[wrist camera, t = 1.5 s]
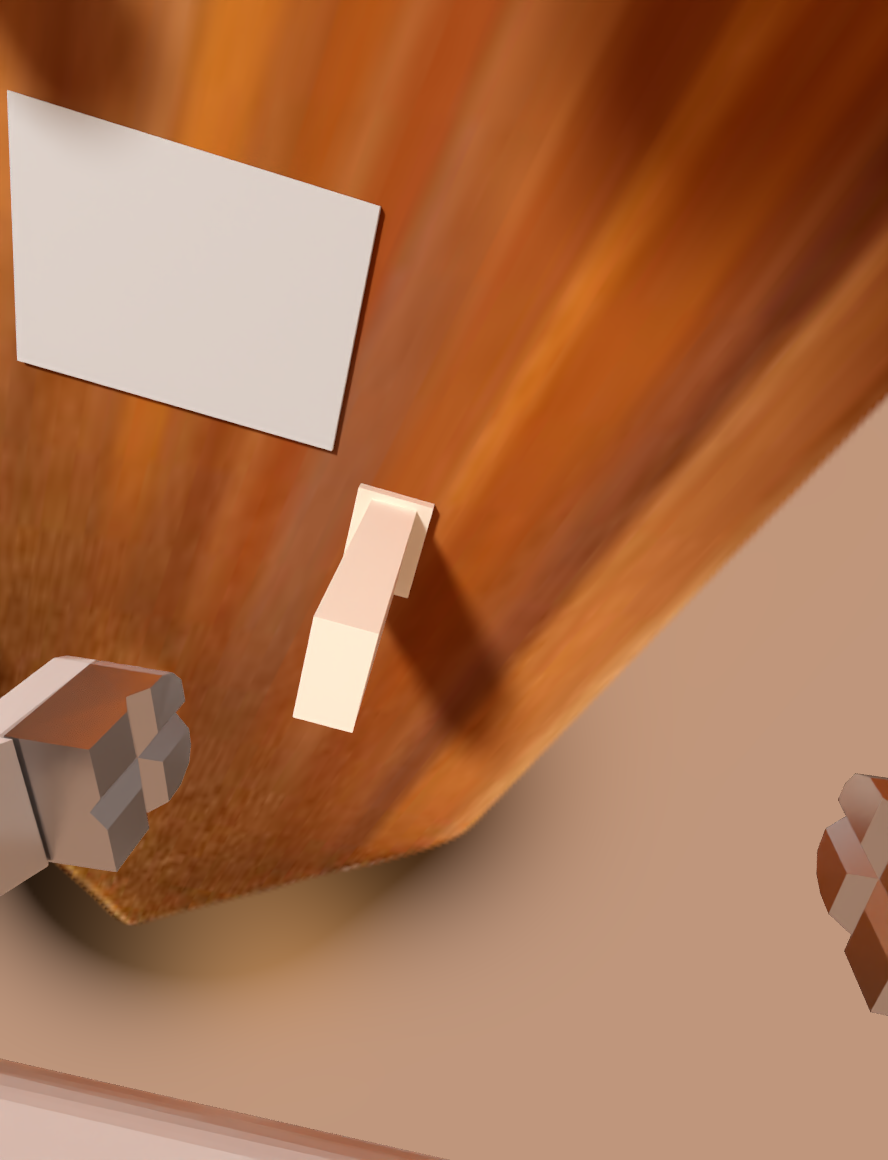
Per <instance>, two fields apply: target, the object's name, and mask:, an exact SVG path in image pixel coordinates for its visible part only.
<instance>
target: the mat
mask: <svg viewBox="0 0 888 1160" xmlns="http://www.w3.org/2000/svg"><path fill="white" fill-rule="evenodd" d="M7 101H8V128H9V154H10V181H11V207H12V233H13V260H14V286H15V313H16V339H17V360H18V361H21V362H25V363H28V364H32V365H35V366H38V367H42V368H45V369H49V370H52V371H56V372H59V373H63V374H66V375H70V376H73V377H77V378H80V379H83V380H87V381H90V382H94V383H97V384H101V385H104V386H108V387H111V388H115V389H118V390H122V391H125V392H129V393H132V394H135V395H139V396H142V397H146V398H149V399H153V400H156V401H160V402H163V403H167V404H170V405H174V406H177V407H181V408H184V409H187V410H191V411H194V412H198V413H201V414H205V415H208V416H212V417H215V418H219V419H222V420H226V421H229V422H232V423H236V424H239V425H243V426H246V427H250V428H253V429H257V430H260V431H264V432H267V433H271V434H274V435H278V436H281V437H284V438H288V439H291V440H295V441H298V442H302V443H305V444H309V445H312V446H316V447H319V448H323V449H326V450H329V451H332V450H333V448H334V443H335V438H336V433H337V428H338V423H339V418H340V413H341V408H342V403H343V398H344V393H345V388H346V383H347V378H348V373H349V367H350V362H351V357H352V352H353V347H354V342H355V337H356V332H357V327H358V322H359V317H360V312H361V307H362V302H363V297H364V292H365V287H366V282H367V277H368V272H369V267H370V261H371V256H372V251H373V246H374V241H375V236H376V231H377V226H378V221H379V216H380V211H381V206H378V205H374V204H371V203H368V202H365V201H362V200H358V199H355V198H352V197H349V196H346V195H342V194H339V193H336V192H333V191H330V190H326V189H323V188H320V187H317V186H314V185H310V184H307V183H304V182H301V181H298V180H294V179H291V178H288V177H285V176H282V175H278V174H275V173H272V172H269V171H265V170H262V169H259V168H256V167H253V166H249V165H246V164H243V163H240V162H237V161H233V160H230V159H227V158H224V157H221V156H217V155H214V154H211V153H208V152H205V151H201V150H198V149H195V148H192V147H189V146H185V145H182V144H179V143H176V142H173V141H169V140H166V139H163V138H160V137H157V136H153V135H150V134H147V133H144V132H141V131H137V130H134V129H131V128H128V127H125V126H121V125H118V124H115V123H112V122H109V121H105V120H102V119H99V118H96V117H93V116H89V115H86V114H83V113H80V112H76V111H73V110H70V109H67V108H64V107H60V106H57V105H54V104H51V103H48V102H44V101H41V100H38V99H35V98H32V97H28V96H25V95H22V94H19V93H16V92H12V91H9V90H7Z"/></svg>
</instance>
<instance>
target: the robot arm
mask: <svg viewBox="0 0 888 1160" xmlns="http://www.w3.org/2000/svg"><path fill="white" fill-rule="evenodd" d="M184 702H185V698H184V692H183V687H182V681H181V679H180V678H179V677H177V676H176V675H175V674H173V673H171V672H165V671H159V670H154V669H148V668H142V667H136V666H130V665H124V664H118V663H112V662H107V661H97V660H93V659H86V658H80V657H73V656H62V657H56V658H53V659H52V660H51V661H49V662H48V663H47V664H45V665H44V666H43V667H41V668H40V669H39V670H37V671H36V672H35V673H33V674H32V675H31V676H29V677H28V678H27V679H26V680H24V681H23V682H22V683H20V684H19V685H18V686H16V687H15V688H14V689H12V690H11V691H10V692H8V693H7V694H6V695H4V696H3V697H2V698H0V896H1V895H3V894H5V893H6V892H8V891H9V890H11V889H12V888H14V887H16V886H17V885H19V884H20V883H22V882H23V881H25V880H27V879H28V878H29V877H31V876H33V875H34V874H36V873H38V872H39V871H41V870H42V869H44V868H45V867H47V866H48V862H54V863H61V864H67V865H74V866H80V867H87V868H93V869H100V870H106V871H113V872H117V871H118V870H119V868H120V867H121V866H122V864H123V863H124V861H125V860H126V859H127V857H128V856H129V855H130V853H131V852H132V851H133V849H134V848H135V847H136V845H137V844H138V843H139V841H140V840H141V839H142V837H143V836H144V835H145V833H146V832H147V830H148V829H149V823H148V814H147V813H148V812H150V811H152V810H153V809H155V808H157V807H159V806H161V805H163V804H165V803H167V802H169V800H170V799H171V798H172V796H173V795H174V793H175V792H176V790H177V789H178V788H179V786H180V785H181V783H182V780H183V777H184V775H185V772H186V769H187V767H188V764H189V758H190V748H191V742H190V733H189V728H188V727H187V726H186V725H185V724H184V722H183V721H182V720H181V719H180V718H179V716H178V715H177V714H176V712H177V711H178V710H179V708H180V707H181V706H182V704H183V703H184ZM838 801H839V803H840V805H841V807H842V809H843V811H844V813H845V815H846V816H845V817H844V818H842V819H840V820H839V821H837V822H835V823H834V824H832V825H831V826H829V827H827V828H826V829H825V832H824V834H823V837H822V840H821V842H820V845H819V848H818V852H817V878H818V883H819V889H820V893H821V896H822V899H823V901H824V904H825V906H826V908H827V911H828V913H829V915H831V916H832V917H833V918H834V919H835V920H836V921H837V922H838V923H839V924H840V925H841V926H842V927H843V928H845V929H846V930H847V931H848V932H849V933H850V934H851V936H850V939H849V941H848V943H847V946H846V948H845V951H844V952H845V954H846V956H847V959H848V961H849V963H850V965H851V968H852V970H853V972H854V975H855V977H856V980H857V982H858V984H859V987H860V989H861V991H862V994H863V996H864V998H865V1000H866V1003H867V1005H868V1007H869V1010H870V1012H872V1013H877V1014H882V1015H887V1016H888V778H885V777H878V776H871V775H864V774H854V775H853V776H852V777H851V778H850V779H849V780H848V781H847V782H846V783H845V785H844V787H843V790H842V792H841V794H840V796H839V798H838ZM0 1160H448V1159H443V1158H439V1157H435V1156H430V1155H426V1154H421V1153H417V1152H412V1151H408V1150H403V1149H399V1148H395V1147H390V1146H386V1145H381V1144H377V1143H372V1142H368V1141H364V1140H359V1139H355V1138H350V1137H346V1136H341V1135H337V1134H333V1133H328V1132H323V1131H319V1130H315V1129H310V1128H306V1127H301V1126H297V1125H293V1124H288V1123H284V1122H279V1121H275V1120H270V1119H265V1118H261V1117H257V1116H253V1115H248V1114H243V1113H239V1112H235V1111H230V1110H225V1109H221V1108H217V1107H213V1106H208V1105H204V1104H199V1103H195V1102H190V1101H186V1100H181V1099H177V1098H173V1097H168V1096H164V1095H159V1094H155V1093H150V1092H146V1091H142V1090H137V1089H133V1088H128V1087H124V1086H120V1085H115V1084H110V1083H106V1082H102V1081H97V1080H92V1079H88V1078H84V1077H80V1076H75V1075H71V1074H66V1073H62V1072H57V1071H53V1070H48V1069H44V1068H39V1067H35V1066H31V1065H26V1064H22V1063H18V1062H13V1061H9V1060H4V1059H0Z"/></svg>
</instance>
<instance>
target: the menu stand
mask: <svg viewBox="0 0 888 1160" xmlns="http://www.w3.org/2000/svg"><path fill="white" fill-rule="evenodd" d="M433 508H434V504H432V503H429V502H425V501H422V500H418V499H415V498H411V497H408V496H404V495H401V494H397V493H394V492H390V491H387V490H383V489H380V488H376V487H373V486H369V485H366V484H362V483H361V484H360V486H359V488H358V493H357V497H356V502H355V506H354V511H353V515H352V520H351V524H350V529H349V533H348V538H347V542H346V547H345V551H344V556H343V558H342V560H341V562H340V564H339V566H338V568H337V571H336V573H335V575H334V577H333V579H332V581H331V583H330V585H329V587H328V589H327V591H326V593H325V595H324V597H323V599H322V601H321V603H320V605H319V607H318V609H317V611H316V613H315V615H314V618H313V623H312V627H311V632H310V637H309V642H308V647H307V651H306V656H305V661H304V666H303V670H302V675H301V680H300V685H299V689H298V694H297V699H296V704H295V708H294V713H293V717H294V718H298V719H302V720H306V721H309V722H313V723H317V724H321V725H325V726H328V727H332V728H336V729H340V730H344V731H347V732H351V733H352V732H353V729H354V725H355V722H356V719H357V715H358V712H359V709H360V705H361V702H362V699H363V695H364V692H365V689H366V685H367V682H368V679H369V675H370V672H371V669H372V665H373V662H374V659H375V655H376V652H377V649H378V645H379V642H380V639H381V635H382V632H383V629H384V625H385V622H386V619H387V615H388V612H389V609H390V605H391V602H392V599H393V595H397V596H401V597H404V598H408V596H409V592H410V589H411V585H412V582H413V578H414V575H415V571H416V568H417V564H418V561H419V557H420V554H421V550H422V547H423V543H424V540H425V536H426V533H427V529H428V526H429V522H430V519H431V515H432V512H433Z"/></svg>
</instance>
